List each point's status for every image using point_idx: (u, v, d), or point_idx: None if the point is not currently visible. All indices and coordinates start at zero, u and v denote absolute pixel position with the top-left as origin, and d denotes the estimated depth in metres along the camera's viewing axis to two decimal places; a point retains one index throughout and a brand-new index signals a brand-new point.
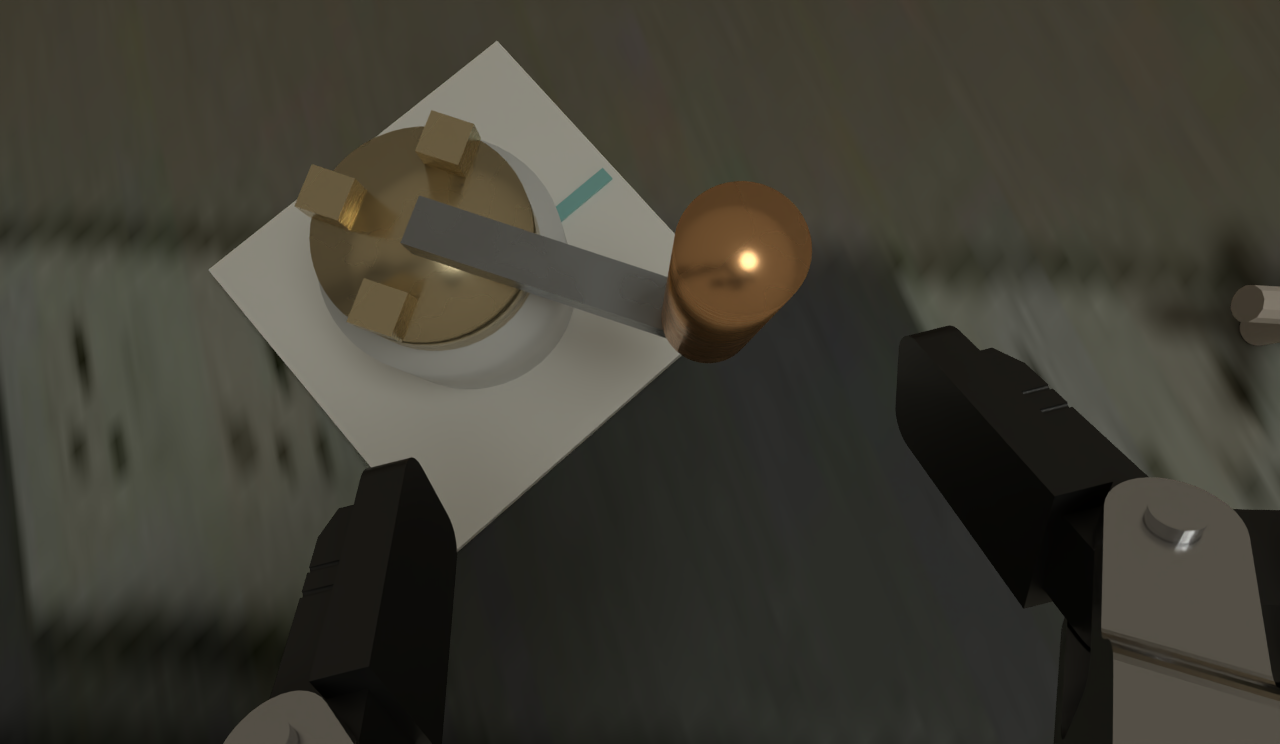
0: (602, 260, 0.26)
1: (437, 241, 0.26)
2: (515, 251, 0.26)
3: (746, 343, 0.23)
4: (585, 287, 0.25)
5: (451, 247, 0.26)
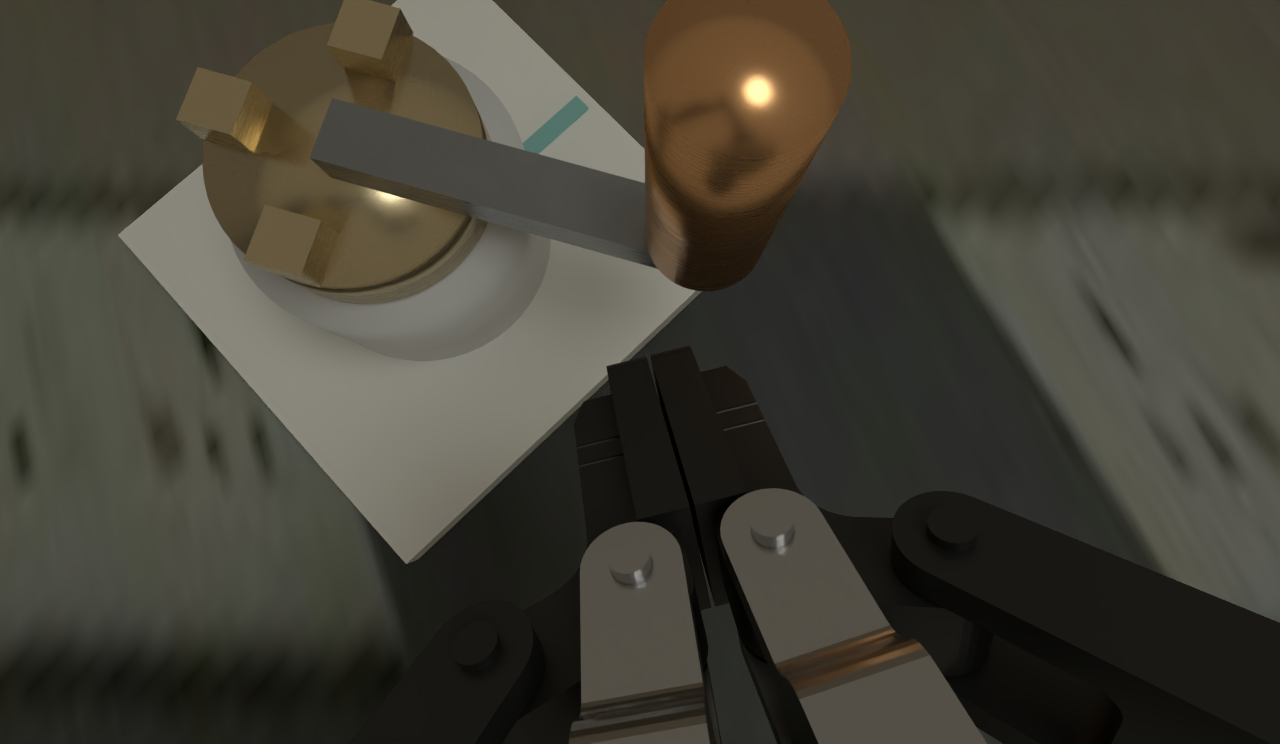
0: (567, 168, 0.20)
1: (356, 153, 0.20)
2: (456, 161, 0.20)
3: (757, 254, 0.17)
4: (546, 201, 0.20)
5: (374, 160, 0.20)
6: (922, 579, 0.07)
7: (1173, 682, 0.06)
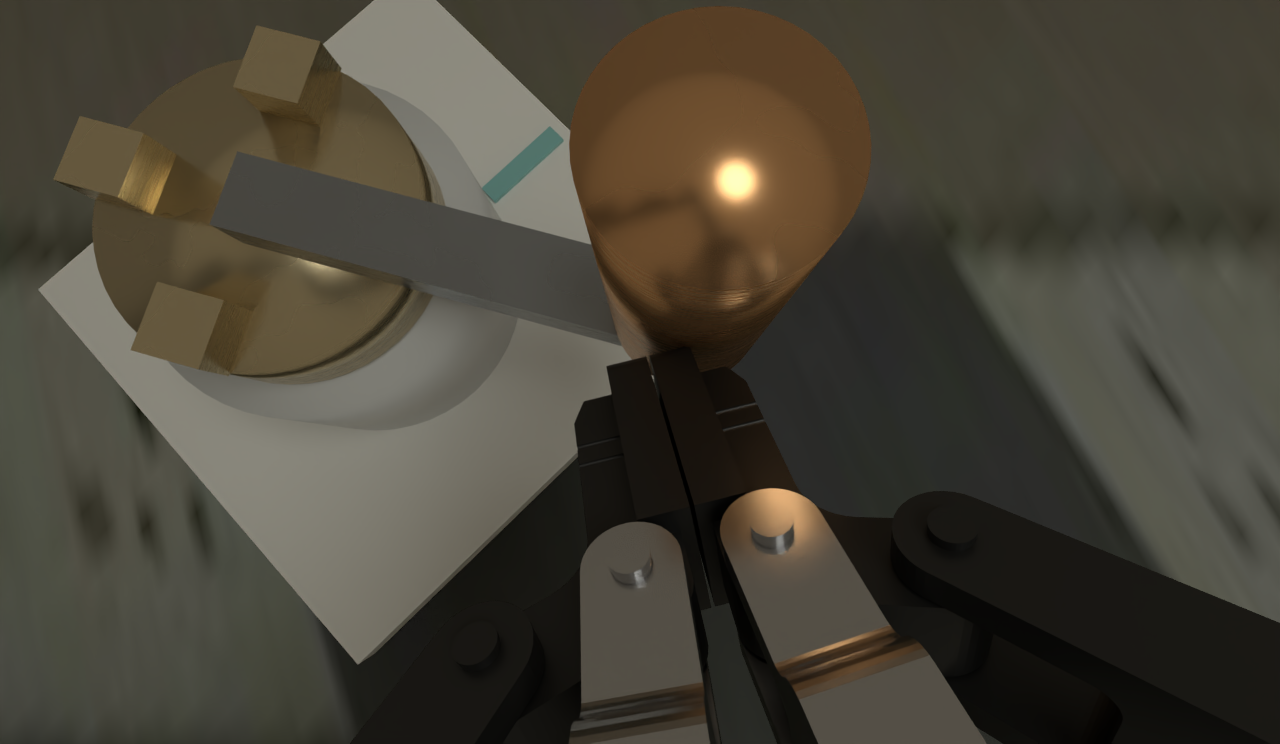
0: (519, 233, 0.17)
1: (265, 219, 0.17)
2: (384, 227, 0.17)
3: (748, 349, 0.14)
4: (493, 275, 0.16)
5: (287, 226, 0.17)
6: (922, 579, 0.07)
7: (1173, 682, 0.06)
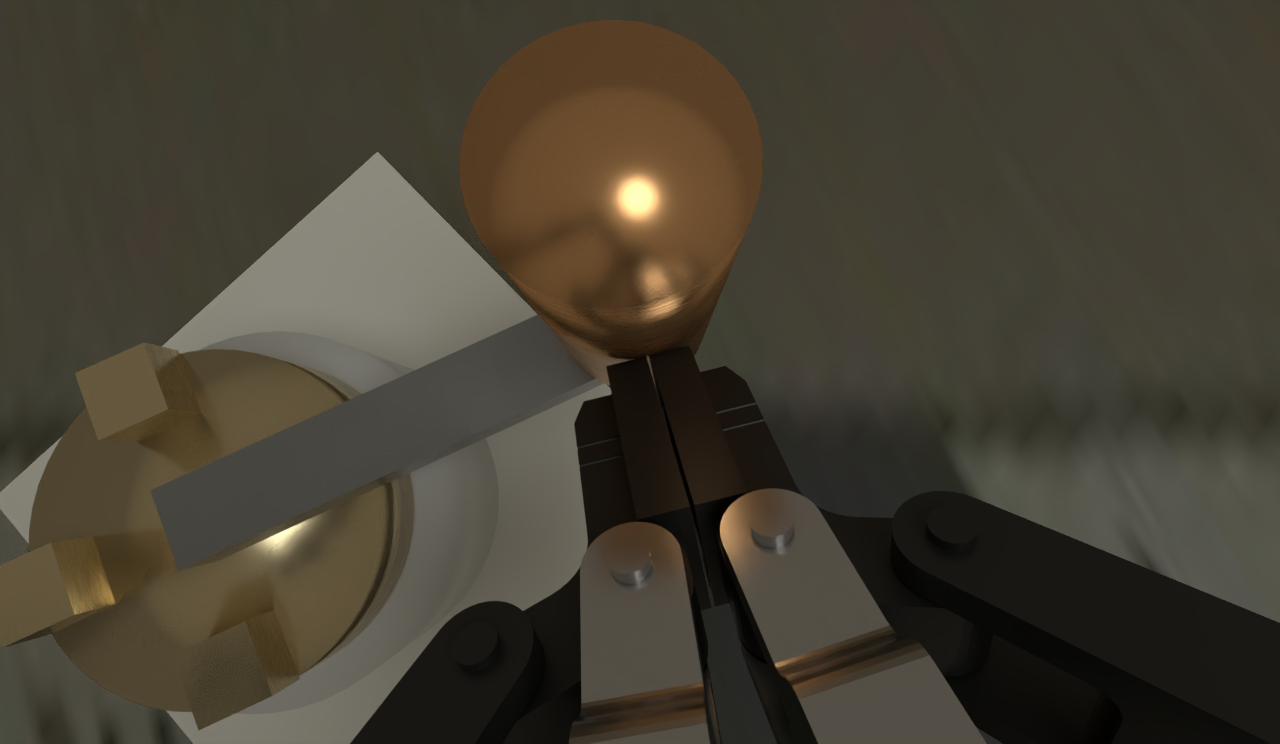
0: (448, 363, 0.16)
1: (224, 525, 0.16)
2: (332, 448, 0.16)
3: None
4: (455, 413, 0.16)
5: (248, 516, 0.16)
6: (922, 579, 0.07)
7: (1173, 682, 0.06)
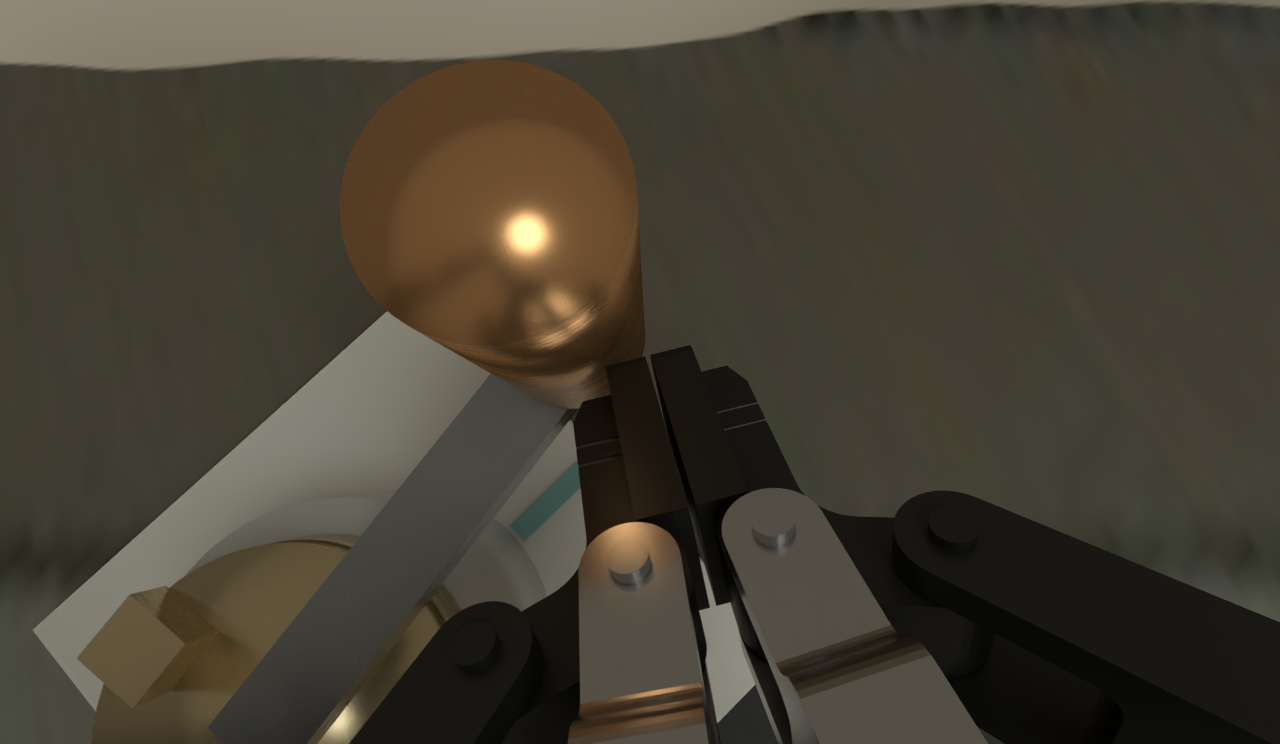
0: (427, 464, 0.16)
1: (295, 721, 0.15)
2: (361, 597, 0.15)
3: None
4: (458, 505, 0.16)
5: (314, 701, 0.15)
6: (923, 579, 0.07)
7: (1174, 682, 0.06)
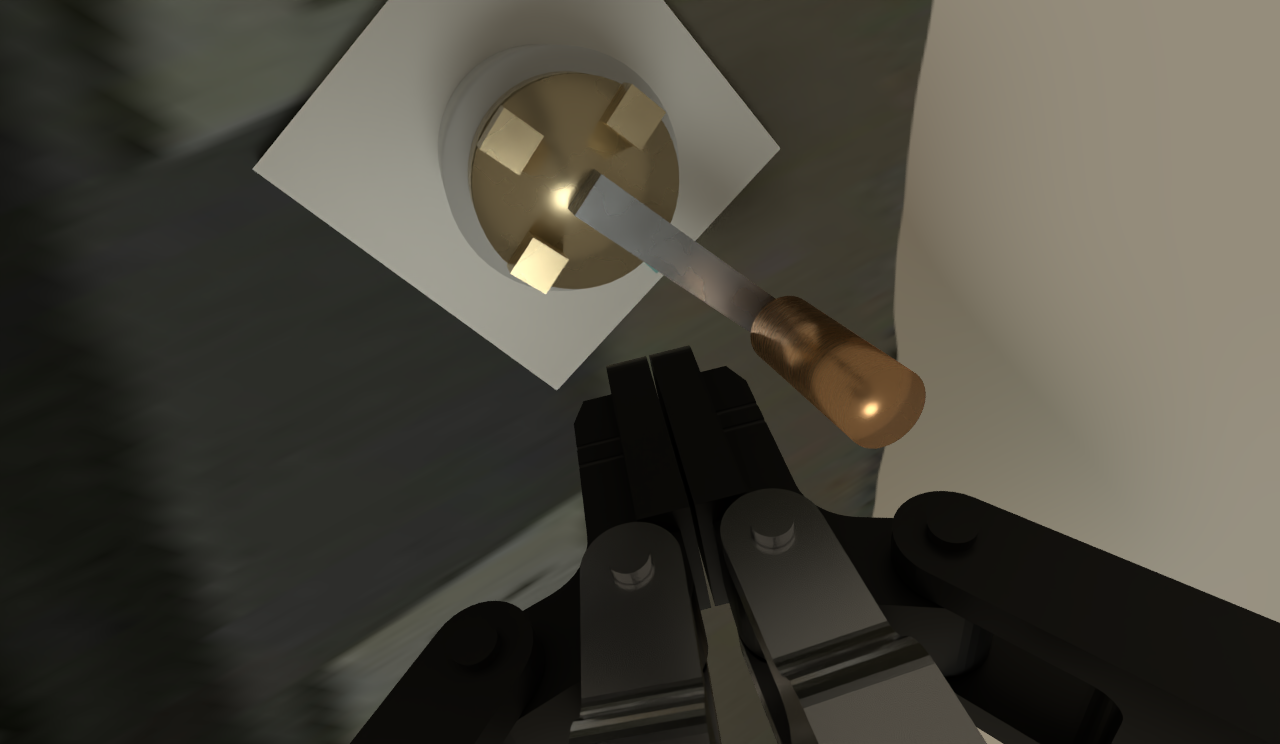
0: (728, 270, 0.31)
1: (606, 222, 0.28)
2: (667, 247, 0.30)
3: None
4: (709, 288, 0.31)
5: (617, 230, 0.28)
6: (922, 579, 0.07)
7: (1173, 682, 0.06)
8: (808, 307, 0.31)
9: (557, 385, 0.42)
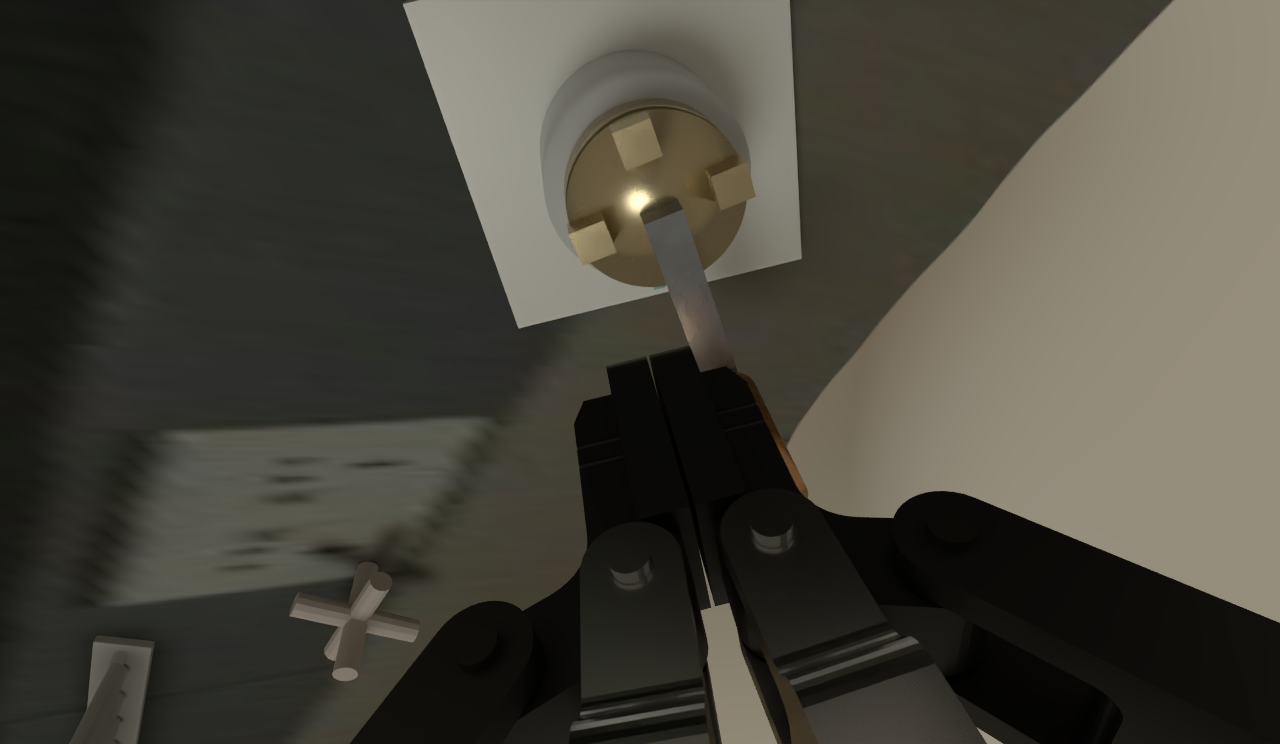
0: (720, 332, 0.36)
1: (662, 244, 0.33)
2: (691, 288, 0.34)
3: None
4: (698, 336, 0.36)
5: (665, 254, 0.33)
6: (922, 579, 0.07)
7: (1173, 682, 0.06)
8: (757, 394, 0.37)
9: (521, 324, 0.46)
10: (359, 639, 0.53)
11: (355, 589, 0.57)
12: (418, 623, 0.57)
